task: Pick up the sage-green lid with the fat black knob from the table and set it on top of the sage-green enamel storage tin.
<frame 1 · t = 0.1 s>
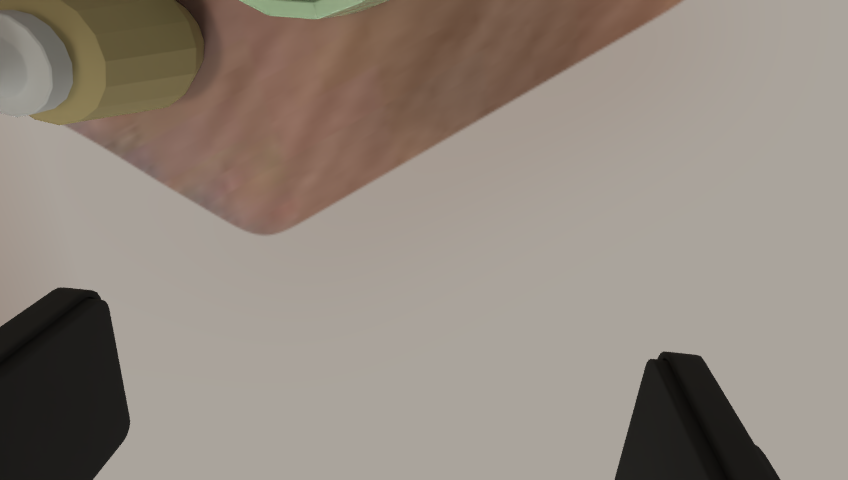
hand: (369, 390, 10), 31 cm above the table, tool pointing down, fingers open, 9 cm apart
squeeze bottle: (165, 41, 39), on the table
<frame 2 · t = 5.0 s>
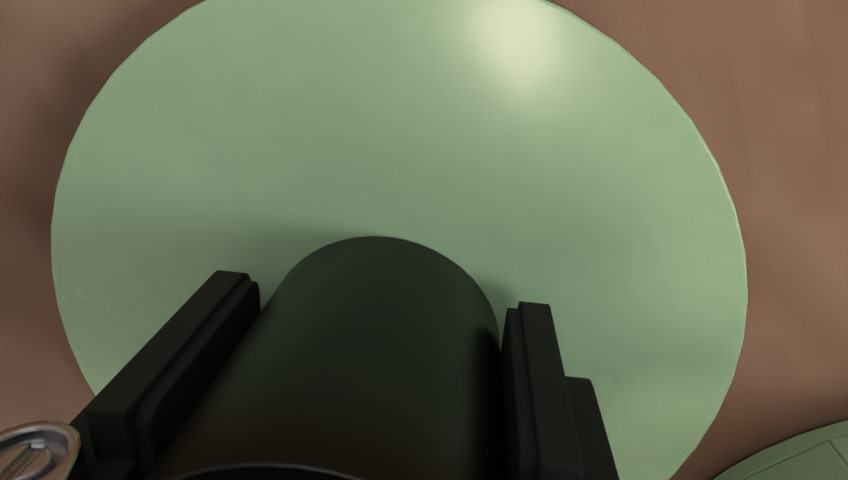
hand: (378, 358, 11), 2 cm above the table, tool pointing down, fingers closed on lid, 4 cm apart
lid: (386, 327, 12), point 1 cm above the table, touching gripper
when the fingers open (11 cm above the table, at t = 11.8 s): lid stays where it is, resting on tin.
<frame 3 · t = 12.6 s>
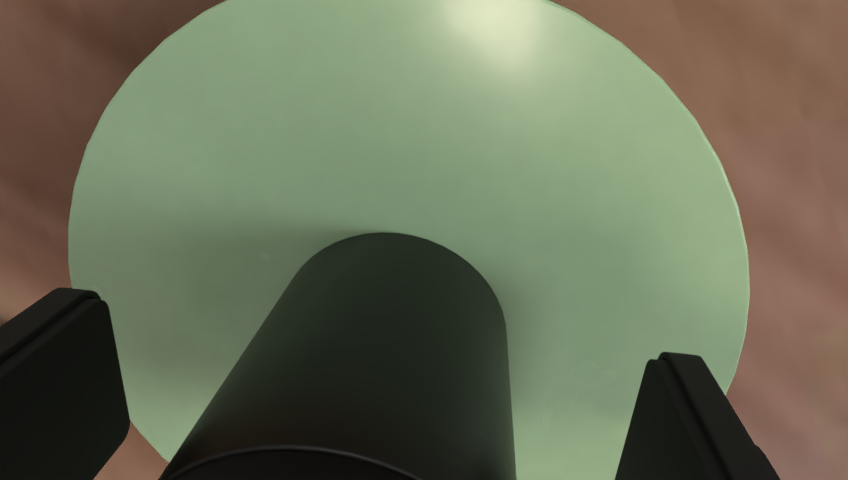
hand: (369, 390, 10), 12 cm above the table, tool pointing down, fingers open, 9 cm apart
lid: (395, 322, 12), point 9 cm above the table, touching tin
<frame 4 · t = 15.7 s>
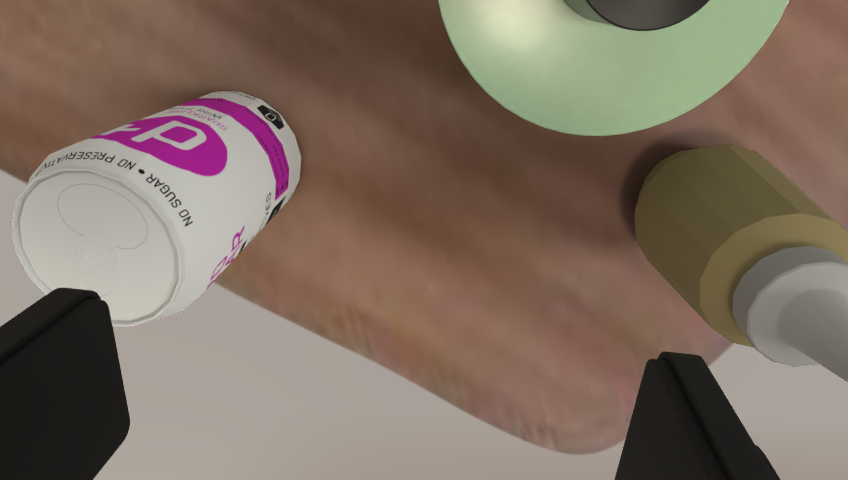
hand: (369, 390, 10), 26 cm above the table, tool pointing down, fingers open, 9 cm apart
supplement can: (243, 153, 36), on the table
squeeze bottle: (686, 193, 35), on the table
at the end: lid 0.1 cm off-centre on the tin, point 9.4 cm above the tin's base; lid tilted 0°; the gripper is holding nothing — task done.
